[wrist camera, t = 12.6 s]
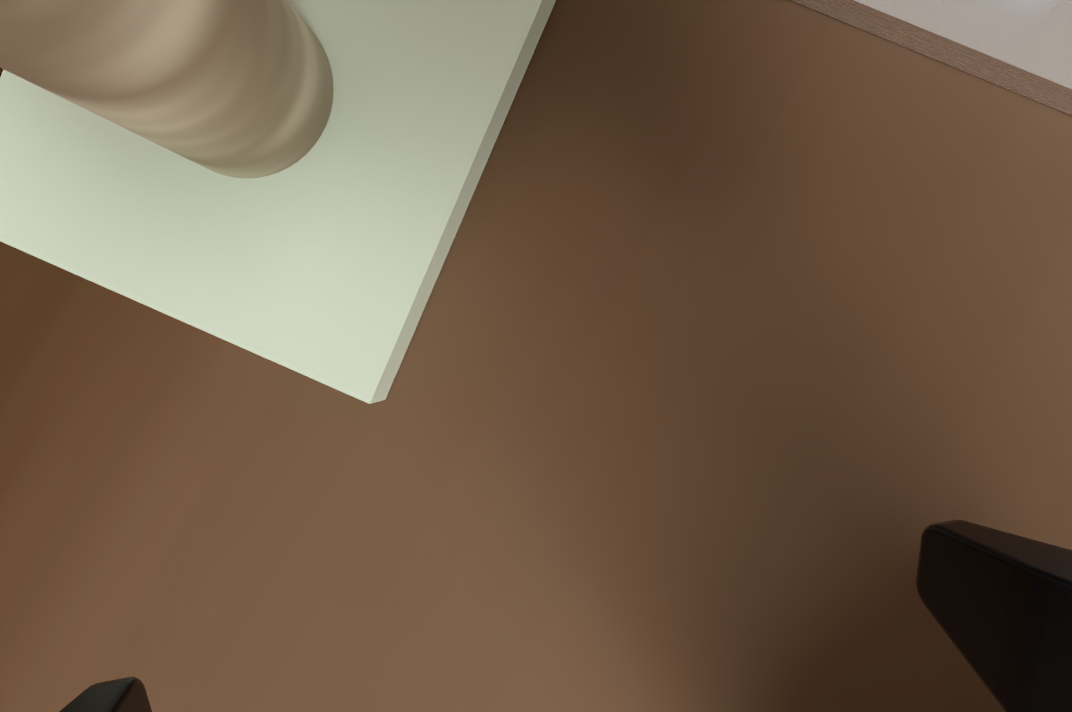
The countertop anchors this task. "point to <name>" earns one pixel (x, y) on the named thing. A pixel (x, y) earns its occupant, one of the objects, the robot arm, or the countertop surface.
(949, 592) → the robot arm
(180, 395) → the countertop surface
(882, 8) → the grey square socket base
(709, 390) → the countertop surface
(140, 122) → the ash peg
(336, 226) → the green pad
